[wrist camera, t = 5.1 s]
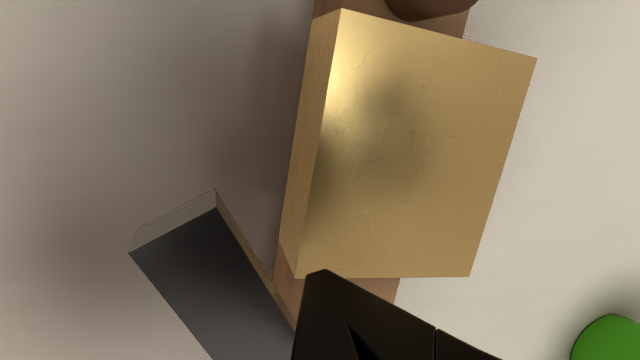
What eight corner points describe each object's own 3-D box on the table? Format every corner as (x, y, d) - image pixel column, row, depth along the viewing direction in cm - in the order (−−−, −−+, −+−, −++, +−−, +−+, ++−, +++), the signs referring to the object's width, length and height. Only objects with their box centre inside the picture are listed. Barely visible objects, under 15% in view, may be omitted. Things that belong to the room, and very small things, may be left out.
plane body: (324, -57, 13) (431, -164, 7) (429, -24, 14) (594, -87, 8) (257, 379, 18) (283, 543, 12) (340, 370, 19) (402, 513, 13)
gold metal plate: (312, 19, 10) (341, 8, 8) (476, 58, 12) (536, 58, 10) (278, 238, 12) (294, 278, 10) (426, 242, 14) (468, 277, 12)
